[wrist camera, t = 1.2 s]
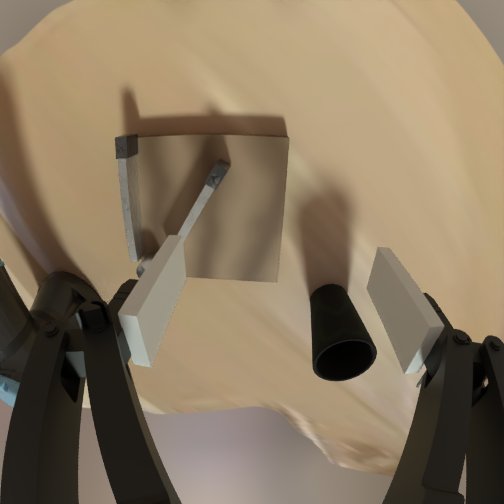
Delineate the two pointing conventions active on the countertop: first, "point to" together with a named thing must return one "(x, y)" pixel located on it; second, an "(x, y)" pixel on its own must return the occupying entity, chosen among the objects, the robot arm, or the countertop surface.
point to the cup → (338, 336)
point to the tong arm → (205, 195)
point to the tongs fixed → (132, 199)
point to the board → (216, 201)
